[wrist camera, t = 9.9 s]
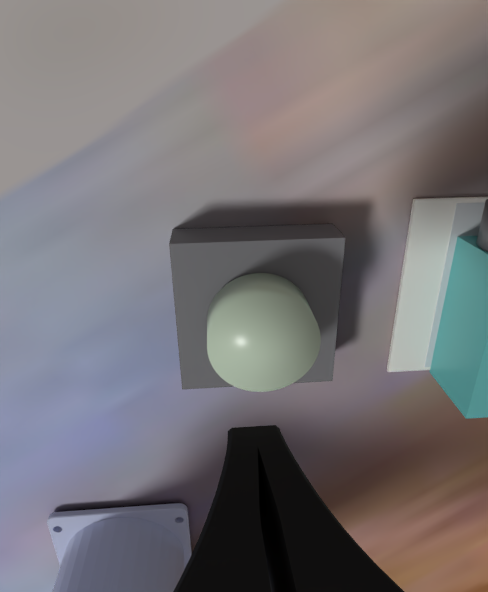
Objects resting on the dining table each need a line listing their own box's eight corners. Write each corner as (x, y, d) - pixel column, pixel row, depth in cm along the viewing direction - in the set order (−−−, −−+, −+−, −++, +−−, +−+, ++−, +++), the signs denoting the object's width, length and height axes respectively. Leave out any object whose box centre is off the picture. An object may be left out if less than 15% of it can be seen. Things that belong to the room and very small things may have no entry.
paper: (532, 361, 24) (535, 364, 23) (386, 369, 23) (388, 372, 23) (586, 193, 20) (590, 194, 19) (413, 198, 19) (415, 200, 19)
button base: (322, 357, 22) (332, 380, 21) (184, 364, 22) (182, 389, 20) (332, 223, 19) (345, 237, 18) (172, 229, 19) (169, 244, 17)
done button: (301, 344, 21) (317, 388, 18) (209, 349, 21) (209, 394, 18) (305, 258, 19) (324, 291, 16) (204, 262, 19) (204, 296, 16)
